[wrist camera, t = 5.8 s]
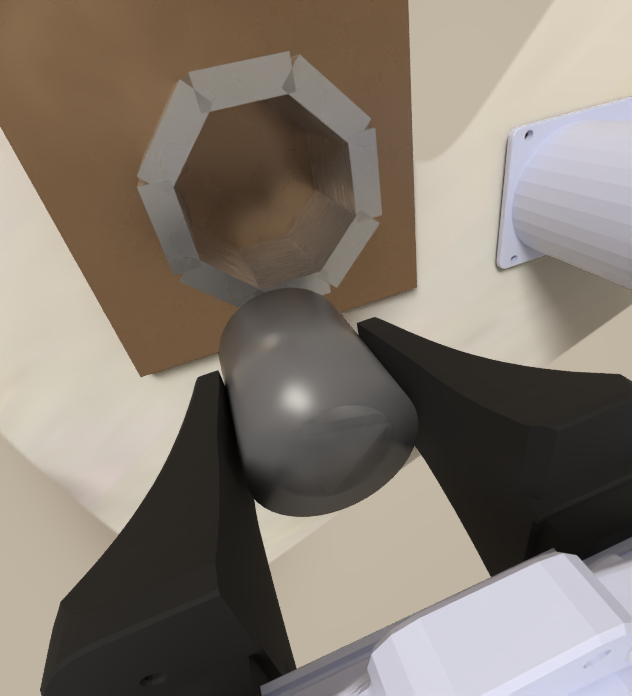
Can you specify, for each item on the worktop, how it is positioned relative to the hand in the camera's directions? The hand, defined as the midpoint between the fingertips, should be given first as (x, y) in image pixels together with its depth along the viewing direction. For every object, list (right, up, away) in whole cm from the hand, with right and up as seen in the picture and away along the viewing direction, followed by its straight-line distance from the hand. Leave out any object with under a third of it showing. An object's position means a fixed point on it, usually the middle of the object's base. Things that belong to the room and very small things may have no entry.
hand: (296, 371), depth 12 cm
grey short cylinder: (0, +1, +1) cm, 1 cm away
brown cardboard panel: (-3, +9, +6) cm, 11 cm away
